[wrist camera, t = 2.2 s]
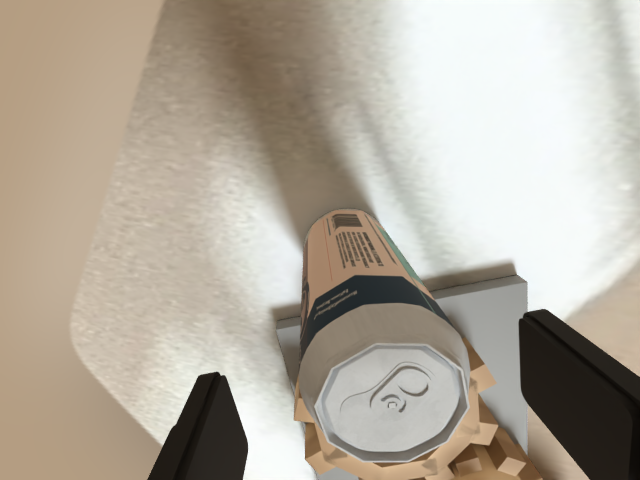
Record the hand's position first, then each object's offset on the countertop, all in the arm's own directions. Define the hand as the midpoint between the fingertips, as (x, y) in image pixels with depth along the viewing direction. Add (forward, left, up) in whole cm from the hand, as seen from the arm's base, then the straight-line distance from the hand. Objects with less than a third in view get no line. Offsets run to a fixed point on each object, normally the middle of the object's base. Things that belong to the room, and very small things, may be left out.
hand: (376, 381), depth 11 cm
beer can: (-1, 0, -10) cm, 10 cm away
